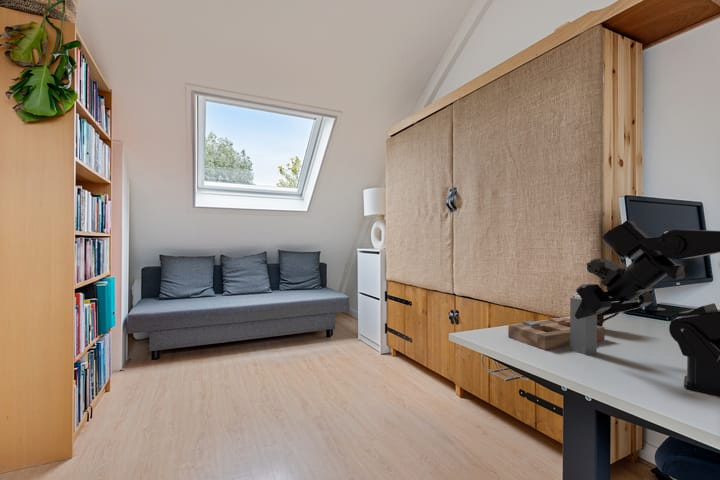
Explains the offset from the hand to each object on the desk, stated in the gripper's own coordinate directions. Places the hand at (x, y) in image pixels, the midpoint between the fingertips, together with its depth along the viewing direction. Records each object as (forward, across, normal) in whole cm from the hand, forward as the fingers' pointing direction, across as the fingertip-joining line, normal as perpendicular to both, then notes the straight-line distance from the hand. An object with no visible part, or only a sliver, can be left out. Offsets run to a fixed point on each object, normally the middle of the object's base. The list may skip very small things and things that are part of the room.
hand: (589, 315), depth 88 cm
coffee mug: (+16, -22, -3) cm, 28 cm away
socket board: (+15, -3, -2) cm, 15 cm away
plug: (+8, 0, +5) cm, 9 cm away
